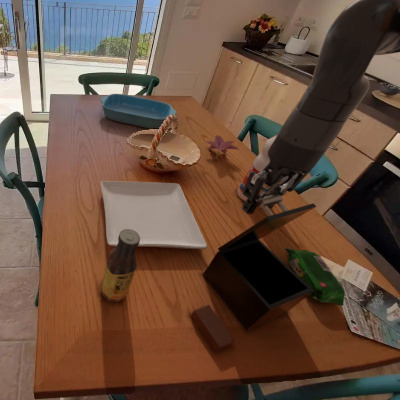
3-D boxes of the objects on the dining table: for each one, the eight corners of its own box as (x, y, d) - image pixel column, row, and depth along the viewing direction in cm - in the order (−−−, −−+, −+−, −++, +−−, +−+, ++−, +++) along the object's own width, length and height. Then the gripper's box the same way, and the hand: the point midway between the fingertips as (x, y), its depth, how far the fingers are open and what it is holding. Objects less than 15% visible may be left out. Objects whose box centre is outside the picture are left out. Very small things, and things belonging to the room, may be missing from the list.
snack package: (303, 255, 75) (315, 243, 71) (340, 309, 63) (356, 298, 60) (277, 253, 75) (288, 241, 72) (310, 307, 63) (324, 296, 60)
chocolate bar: (230, 345, 56) (235, 340, 54) (215, 351, 55) (219, 347, 53) (204, 309, 62) (208, 304, 60) (190, 315, 60) (194, 310, 59)
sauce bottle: (112, 309, 61) (127, 256, 47) (95, 288, 64) (104, 234, 51) (132, 293, 64) (152, 240, 50) (115, 274, 67) (129, 220, 54)
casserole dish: (173, 116, 139) (178, 102, 134) (170, 135, 123) (174, 121, 118) (105, 103, 146) (107, 90, 142) (93, 120, 130) (95, 106, 126)
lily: (237, 164, 110) (244, 140, 108) (224, 161, 102) (232, 136, 100) (208, 159, 119) (215, 137, 116) (195, 156, 111) (202, 133, 109)
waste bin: (287, 312, 62) (314, 290, 56) (246, 330, 59) (269, 309, 52) (240, 261, 72) (258, 238, 66) (202, 274, 69) (217, 251, 62)
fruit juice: (266, 209, 88) (321, 132, 70) (235, 200, 91) (281, 124, 72) (264, 193, 95) (315, 118, 76) (236, 185, 98) (278, 111, 79)
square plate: (106, 253, 72) (107, 244, 69) (99, 188, 92) (100, 179, 90) (204, 255, 73) (209, 246, 70) (176, 190, 93) (179, 182, 91)
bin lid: (316, 206, 52) (297, 184, 55) (269, 220, 48) (250, 196, 51) (260, 238, 65) (246, 219, 68) (219, 251, 61) (206, 231, 64)
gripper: (294, 155, 42) (244, 228, 53) (353, 142, 46) (295, 213, 57) (255, 132, 47) (217, 204, 58) (312, 123, 51) (266, 191, 62)
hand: (256, 208), depth 57 cm, fingers closed on bin lid, 5 cm apart
